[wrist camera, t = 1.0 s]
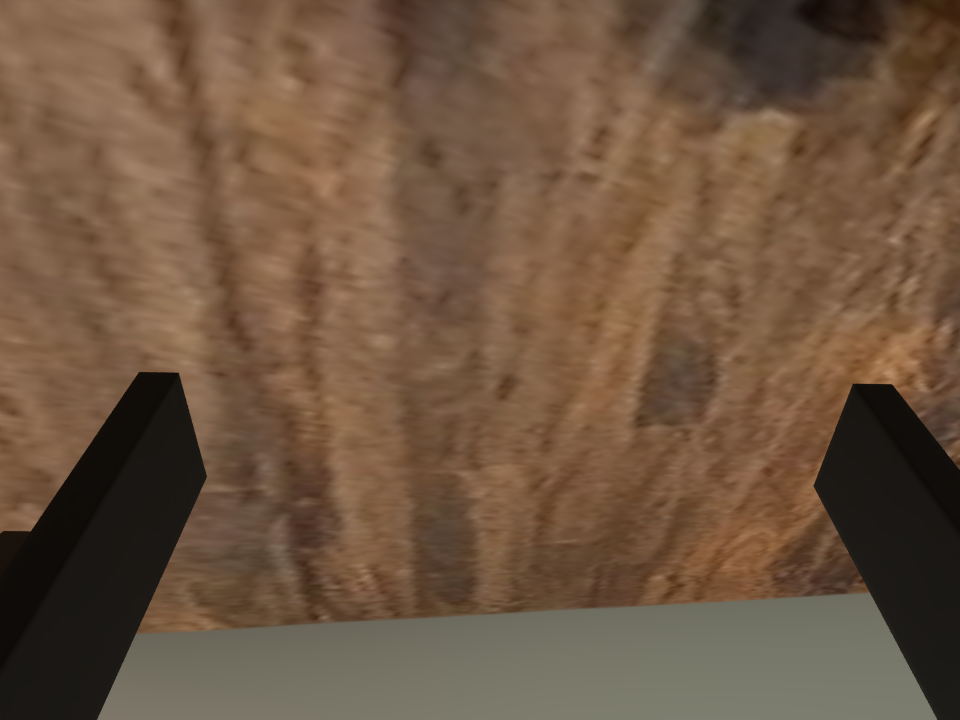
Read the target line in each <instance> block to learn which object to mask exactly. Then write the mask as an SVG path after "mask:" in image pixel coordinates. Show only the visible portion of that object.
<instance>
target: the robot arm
mask: <svg viewBox="0 0 960 720" xmlns="http://www.w3.org/2000/svg"><path fill="white" fill-rule="evenodd" d="M206 477H207V475H206V472H205V468H204V464H203V461H202V457H201V453H200V450H199V446H198V442H197V438H196V435H195V431H194V427H193V424H192V420H191V416H190V413H189V409H188V405H187V402H186V398H185V394H184V390H183V387H182V383H181V379H180V376H179V373H166V372H139V373H138V374H137V376H136V377H135V379H134V380H133V382H132V383H131V385H130V386H129V388H128V389H127V391H126V392H125V394H124V395H123V397H122V398H121V399H120V401H119V402H118V404H117V405H116V407H115V408H114V410H113V411H112V413H111V414H110V416H109V417H108V419H107V420H106V422H105V423H104V425H103V426H102V427H101V429H100V430H99V432H98V433H97V435H96V436H95V438H94V439H93V441H92V442H91V444H90V445H89V447H88V448H87V450H86V451H85V452H84V454H83V455H82V457H81V458H80V460H79V461H78V463H77V464H76V466H75V467H74V469H73V470H72V472H71V473H70V475H69V476H68V478H67V479H66V480H65V482H64V483H63V485H62V486H61V488H60V489H59V491H58V492H57V494H56V495H55V497H54V498H53V500H52V501H51V503H50V504H49V505H48V507H47V508H46V510H45V511H44V513H43V514H42V516H41V517H40V519H39V520H38V522H37V523H36V525H35V526H34V528H33V529H32V531H31V532H30V531H3V532H2V533H1V534H0V720H97V718H98V716H99V714H100V712H101V710H102V707H103V705H104V703H105V701H106V699H107V696H108V694H109V692H110V690H111V687H112V685H113V683H114V681H115V679H116V676H117V674H118V672H119V670H120V668H121V665H122V663H123V661H124V659H125V657H126V654H127V652H128V650H129V647H130V645H131V643H132V641H133V639H134V637H135V634H136V632H137V630H138V628H139V626H140V623H141V621H142V619H143V617H144V615H145V612H146V610H147V608H148V606H149V603H150V601H151V599H152V597H153V595H154V592H155V590H156V588H157V586H158V584H159V581H160V579H161V577H162V575H163V573H164V570H165V568H166V566H167V564H168V561H169V559H170V557H171V555H172V553H173V550H174V548H175V546H176V544H177V542H178V539H179V537H180V535H181V533H182V531H183V528H184V526H185V524H186V522H187V519H188V517H189V515H190V513H191V511H192V508H193V506H194V504H195V502H196V500H197V497H198V495H199V493H200V491H201V489H202V486H203V484H204V482H205V480H206ZM814 488H815V490H816V492H817V494H818V495H819V497H820V499H821V501H822V503H823V505H824V507H825V509H826V510H827V512H828V514H829V516H830V518H831V520H832V522H833V524H834V526H835V527H836V529H837V531H838V533H839V535H840V537H841V539H842V541H843V543H844V544H845V546H846V548H847V550H848V552H849V554H850V556H851V558H852V559H853V561H854V563H855V565H856V567H857V569H858V571H859V573H860V575H861V576H862V578H863V580H864V582H865V584H866V586H867V588H868V590H869V592H870V593H871V595H872V597H873V599H874V601H875V603H876V604H877V607H878V609H879V610H880V612H881V614H882V616H883V618H884V620H885V622H886V624H887V625H888V627H889V629H890V631H891V633H892V635H893V637H894V638H895V641H896V642H897V644H898V646H899V648H900V650H901V652H902V654H903V655H904V658H905V659H906V661H907V663H908V665H909V667H910V669H911V671H912V673H913V674H914V676H915V678H916V680H917V682H918V684H919V686H920V688H921V689H922V691H923V693H924V695H925V697H926V699H927V701H928V703H929V705H930V706H931V708H932V710H933V712H934V714H935V716H936V718H937V720H960V470H959V469H958V468H957V466H956V465H955V464H954V462H953V461H952V460H951V459H950V457H949V456H948V455H947V453H946V452H945V451H944V450H943V448H942V447H941V446H940V445H939V443H938V442H937V441H936V439H935V438H934V437H933V436H932V434H931V433H930V432H929V431H928V429H927V428H926V427H925V425H924V424H923V423H922V422H921V420H920V419H919V418H918V417H917V415H916V414H915V413H914V411H913V410H912V409H911V408H910V406H909V405H908V404H907V403H906V401H905V400H904V399H903V397H902V396H901V395H900V394H899V392H898V391H897V390H896V389H895V387H894V386H893V385H892V384H853V385H852V388H851V390H850V393H849V395H848V398H847V401H846V403H845V406H844V408H843V411H842V414H841V416H840V419H839V421H838V424H837V427H836V429H835V432H834V434H833V437H832V440H831V442H830V445H829V447H828V450H827V452H826V455H825V458H824V460H823V463H822V465H821V468H820V471H819V473H818V476H817V478H816V481H815V484H814Z"/></svg>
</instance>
